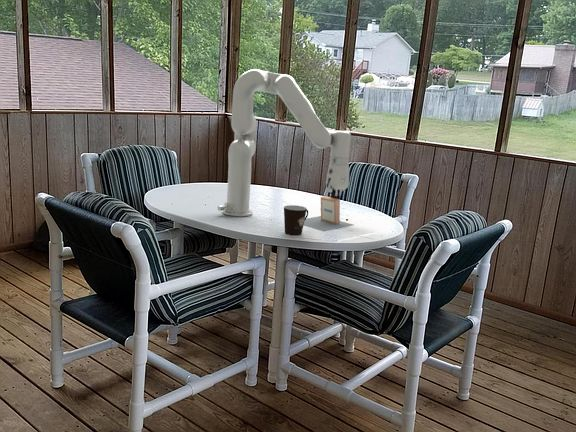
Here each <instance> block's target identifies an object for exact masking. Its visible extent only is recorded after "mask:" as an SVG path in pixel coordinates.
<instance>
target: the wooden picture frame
mask: <svg viewBox="0 0 576 432" xmlns="http://www.w3.org/2000/svg"><path fill="white" fill-rule="evenodd" d="M340 201H341V199H336V198H332V197H331V196H328V195H327V196H326V195H323V196H321V197H320V216H321V220H323V221H326V222H330V223H333V224H337V223H340V221H341V219H340V218H341V217H340V215H341V213H340V212H341V211H340V209H341V207H340V205H341V202H340Z"/></svg>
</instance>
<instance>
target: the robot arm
mask: <svg viewBox="0 0 576 432" xmlns="http://www.w3.org/2000/svg"><path fill="white" fill-rule="evenodd" d="M232 91H233V93H232V107H231V108H232V109H231V121H230V122H231V123H230V124H231V129H232V131H233V132H234V134H233V135H234V140H233V141H232V142H231V143H230V145H229V146H228V153H227V154H228V155H227V157H228V162H227V163H228V171H227V173H228V174H227V192H226V193H227V194H226V202H224V205H218V206H217V210H218V211H219V212H220V211H221V212H222V214H223V215H227V216H231V217H249V216H252V215H253V211H252V210H251V209H250V199H251V198H250V197H251V183H252V182H251V181H252V180H251V179H252V158H253V156H254V155H255V152H256V149H257V134H258V133H257V132H258V131H257V129H258V127H257V126H258V123H257V118H256V116H255V115H254V95H255V93H256V92H263V93H267V94H272V95H273V94H274V95H277V96H279V98H280V99H281V100H282V102H283V103H284V104H285V106H286V107H287V109H288V110H289V111H290V113H291V114H292V116H293V117H294V119H295V120H296V121H297V122H298V124H299V126H300V127H301V129H302V130H303V131H304V133H305V134H306V136H307V138H309V140H310V141H311V142H312V144H313V145H314V147H316V148H318V149H326V148H328V147H330V157H329V158H330V159H329V165H328V169H327V174H326V180H325V182H326V183H325V186H326V188H327V190H326V192H328V193H330V197H332V198H336V199H340V198H341V196H342V192H344V191H345V190H346V189H348V188H349V186H350V166H349V165H350V164H349V159H350V158H349V156H350V148H351V147H350V146H351V140H352V139H351V138H352V134H351V132H349V131H347V130H332V129H329V128H326V127H325V125H324V124H323V122H322V121H321V120H320V117H318V115H317V114H316V112H315V110H314V106H313V104H312V102H310V101H309V99H308V98H307V96H306V95H305V94H304V92H303V91H302V90H301V88H300V86H299V85H298V84H297V81H296V79H295V78H294V77H293V76H291V75H289V74H282V73H276V72H271V71H267V70H266V71H265V70H262V69H259V68H253V69H252V68H251V69H250V70H247V71H245V72H244V73H242V74H240V76H238V78H237V79H236V81H235V83H234V86H233V90H232ZM340 200H341V199H340Z"/></svg>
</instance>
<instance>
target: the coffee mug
mask: <svg viewBox="0 0 576 432" xmlns="http://www.w3.org/2000/svg"><path fill="white" fill-rule="evenodd" d="M308 216H309V210H308V208H307V207H305V206H302V205H296V204H295V205H293V204H291V205H289V204H287V205H284V206H283V217H284V218H283V220H284V221H283V222H284V234H285V235H287V236H291V237H292V236H294V237H299V236H302V234H303V229H304V221H305V220H306V219H307V218H308Z"/></svg>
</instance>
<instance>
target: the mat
mask: <svg viewBox="0 0 576 432" xmlns="http://www.w3.org/2000/svg"><path fill="white" fill-rule="evenodd" d="M352 226H354V224H353V223H349V222H346V221H341V220H340V223H337V224H333V223H330V222H326V221H323V220H321V215H319V216H312V217H307V218H306V220H305V221H304V225H303V227H308V228H310V229H313V230H314V229H315V230H317V231H320V232H327V231H328V232H329V231H333V230H337V229H343V228H347V227H352Z"/></svg>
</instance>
